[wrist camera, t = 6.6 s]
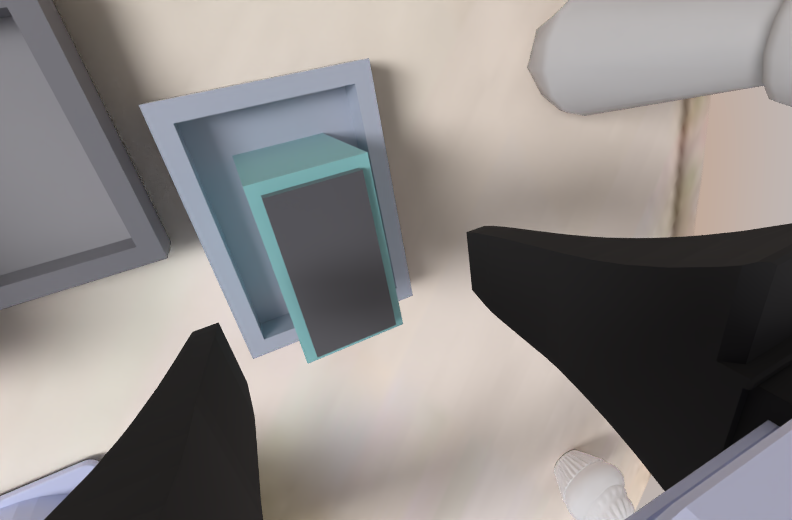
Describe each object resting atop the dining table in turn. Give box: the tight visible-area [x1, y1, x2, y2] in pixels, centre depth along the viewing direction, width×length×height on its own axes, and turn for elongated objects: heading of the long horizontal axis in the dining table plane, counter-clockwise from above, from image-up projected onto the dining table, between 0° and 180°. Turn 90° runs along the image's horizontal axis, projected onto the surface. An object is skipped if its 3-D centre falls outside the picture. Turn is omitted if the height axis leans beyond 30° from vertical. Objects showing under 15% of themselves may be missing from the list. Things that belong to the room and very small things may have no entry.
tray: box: [139, 58, 413, 359], centre depth 18 cm, size 12×9×2 cm
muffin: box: [554, 450, 634, 520], centre depth 37 cm, size 6×6×7 cm
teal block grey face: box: [232, 133, 403, 363], centre depth 16 cm, size 4×7×6 cm, turn 10°
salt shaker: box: [528, 0, 792, 116], centre depth 17 cm, size 6×6×13 cm
